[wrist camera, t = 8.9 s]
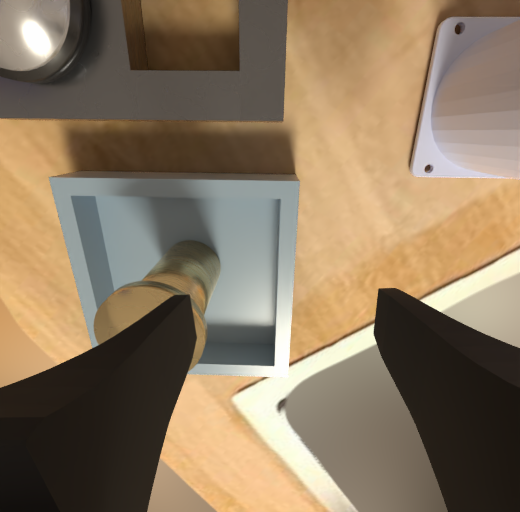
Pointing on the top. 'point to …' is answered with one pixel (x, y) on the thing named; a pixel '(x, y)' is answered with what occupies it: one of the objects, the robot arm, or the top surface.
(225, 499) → the top surface
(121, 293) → the lock pin
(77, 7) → the block
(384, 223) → the top surface
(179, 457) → the top surface
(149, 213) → the tray
